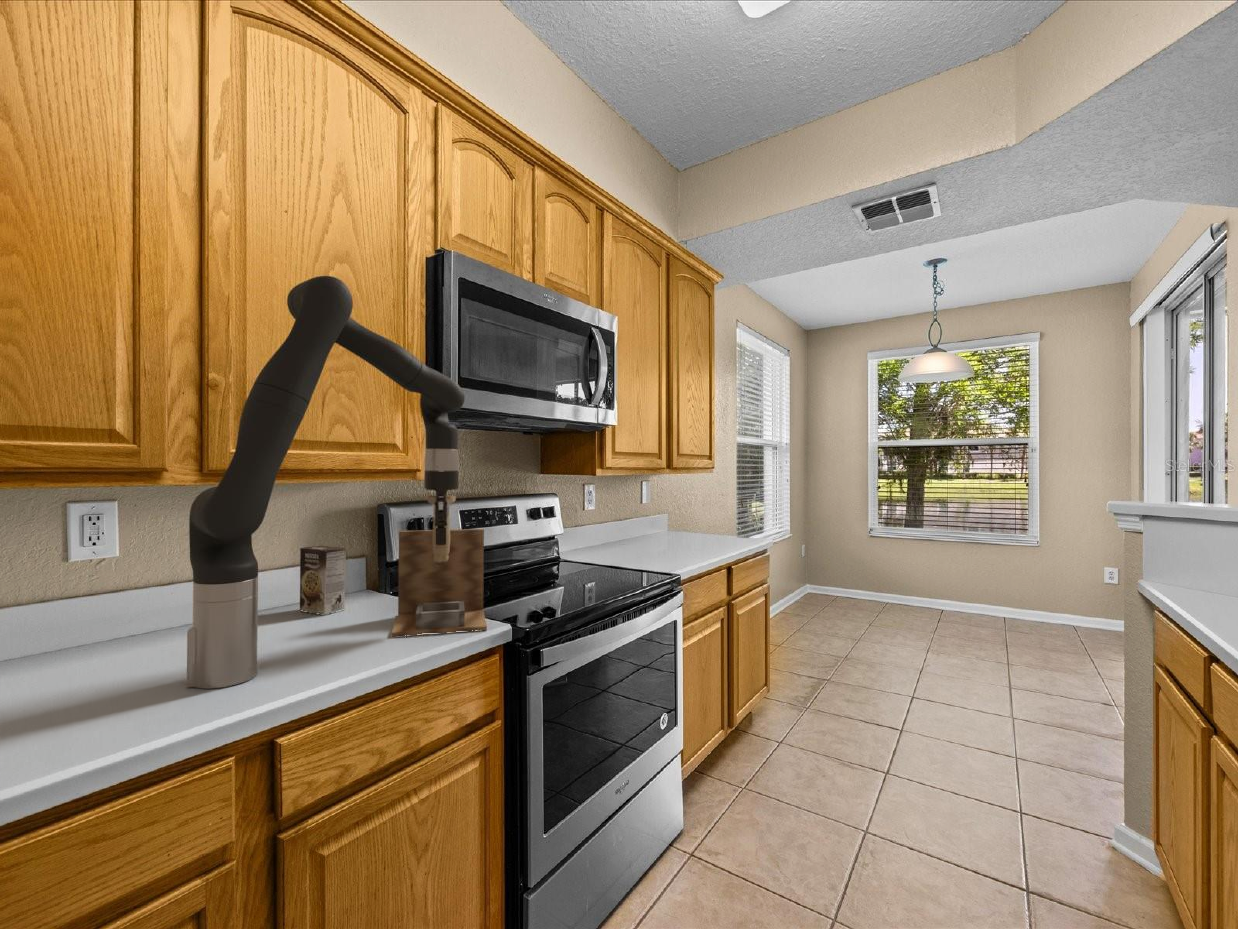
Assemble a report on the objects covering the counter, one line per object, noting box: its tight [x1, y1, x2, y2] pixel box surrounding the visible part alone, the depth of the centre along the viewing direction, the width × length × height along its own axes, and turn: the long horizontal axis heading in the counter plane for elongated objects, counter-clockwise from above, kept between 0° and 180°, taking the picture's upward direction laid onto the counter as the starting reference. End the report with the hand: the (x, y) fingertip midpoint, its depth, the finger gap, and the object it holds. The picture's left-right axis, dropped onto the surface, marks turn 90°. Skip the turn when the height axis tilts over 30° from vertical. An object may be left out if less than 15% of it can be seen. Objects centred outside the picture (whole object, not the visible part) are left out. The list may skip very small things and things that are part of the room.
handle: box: [427, 495, 457, 562], centre depth 131 cm, size 5×6×15 cm
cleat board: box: [391, 528, 488, 638], centre depth 134 cm, size 20×19×21 cm
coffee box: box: [299, 544, 347, 616], centre depth 144 cm, size 9×6×16 cm
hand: (441, 543), depth 131 cm, fingers closed on handle, 4 cm apart
